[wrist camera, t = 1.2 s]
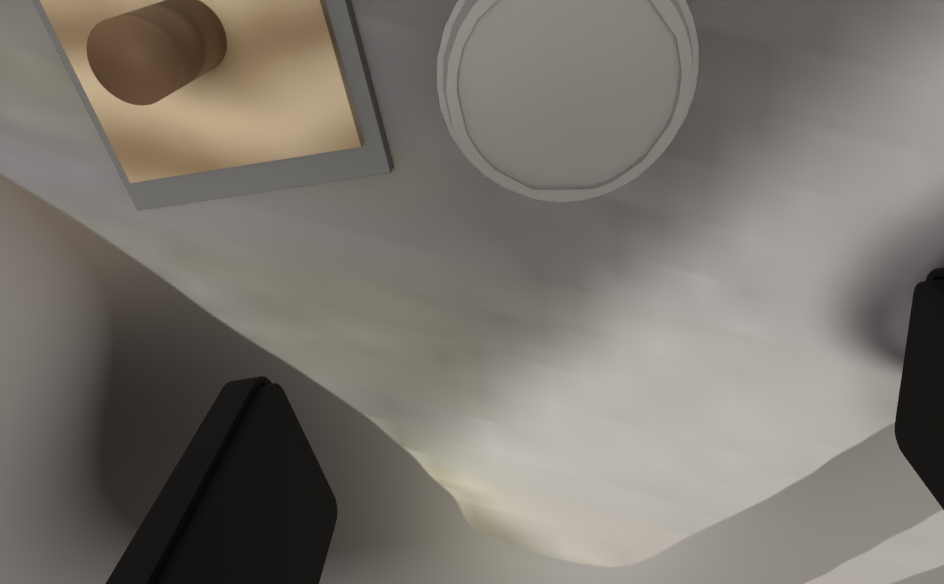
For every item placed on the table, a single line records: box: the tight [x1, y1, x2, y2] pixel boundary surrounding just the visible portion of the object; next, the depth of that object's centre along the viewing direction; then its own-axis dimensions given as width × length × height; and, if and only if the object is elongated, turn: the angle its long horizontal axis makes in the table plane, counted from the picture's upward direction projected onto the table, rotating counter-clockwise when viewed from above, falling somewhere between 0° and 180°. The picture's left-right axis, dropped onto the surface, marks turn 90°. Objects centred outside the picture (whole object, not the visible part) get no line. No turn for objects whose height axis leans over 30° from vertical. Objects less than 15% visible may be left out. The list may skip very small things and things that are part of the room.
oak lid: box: [40, 0, 364, 183], centre depth 30 cm, size 14×14×7 cm
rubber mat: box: [32, 0, 393, 211], centre depth 33 cm, size 18×16×1 cm
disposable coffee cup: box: [437, 0, 699, 202], centre depth 27 cm, size 10×10×12 cm
